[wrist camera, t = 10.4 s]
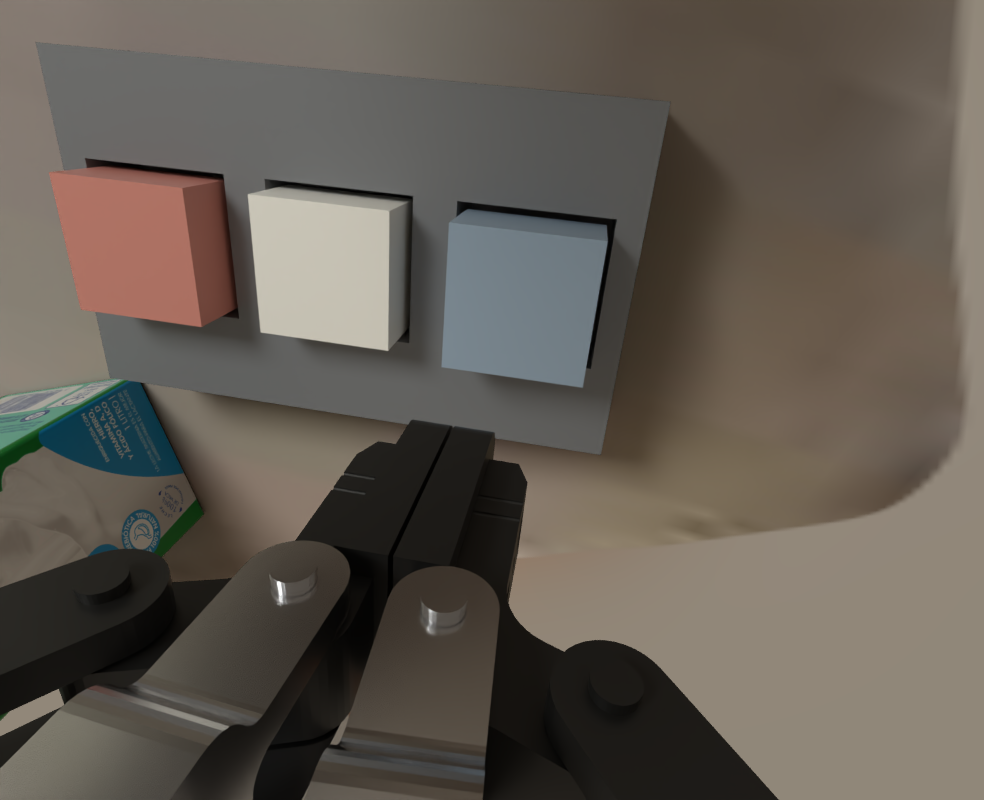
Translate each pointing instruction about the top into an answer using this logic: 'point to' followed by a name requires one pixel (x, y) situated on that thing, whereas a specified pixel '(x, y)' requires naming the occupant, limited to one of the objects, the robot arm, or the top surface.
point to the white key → (332, 264)
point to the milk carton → (86, 478)
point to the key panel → (380, 171)
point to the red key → (148, 243)
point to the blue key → (521, 295)
